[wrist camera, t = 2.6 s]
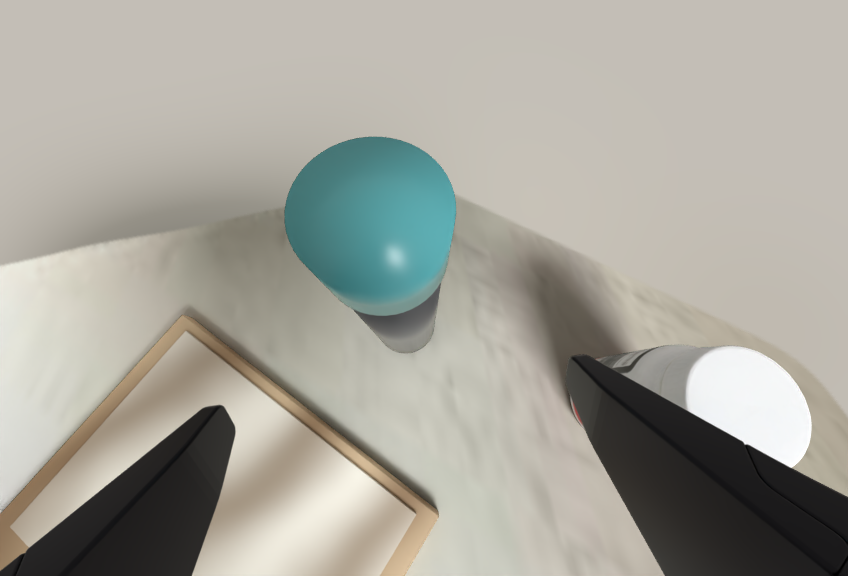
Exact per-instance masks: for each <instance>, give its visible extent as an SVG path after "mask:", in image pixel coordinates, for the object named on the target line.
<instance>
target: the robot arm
mask: <svg viewBox="0 0 848 576" xmlns="http://www.w3.org/2000/svg"><path fill="white" fill-rule="evenodd" d="M565 381H566V386H567V389H568V392H569V394H570V396H571V399H572V401H573V403H574V405H575V408H576V410H577V412H578V415H579V417H580V419H581V422H582V424H583V426H584V429H585V431H586V433H587V436H588V438H589V440H590V442H591V444H592V446H593V448H594V450H595V452H596V453H597V455H598V457H599V459H600V460H601V462H602V464H603V466H604V468H605V469H606V471H607V473H608V475H609V477H610V478H611V480H612V482H613V484H614V485H615V487H616V489H617V491H618V493H619V494H620V496H621V498H622V500H623V502H624V503H625V505H626V507H627V509H628V511H629V512H630V514H631V516H632V518H633V519H634V521H635V523H636V525H637V527H638V528H639V530H640V532H641V534H642V536H643V537H644V539H645V541H646V543H647V545H648V546H649V548H650V550H651V552H652V553H653V555H654V557H655V559H656V561H657V562H658V564H659V566H660V568H661V570H662V571H663V573H664V575H665V576H848V497H847V496H845V495H843V494H841V493H839V492H837V491H835V490H833V489H831V488H829V487H827V486H825V485H823V484H821V483H819V482H817V481H815V480H813V479H811V478H809V477H807V476H805V475H804V474H802V473H800V472H798V471H796V470H794V469H792V468H791V467H789V466H787V465H785V464H783V463H781V462H779V461H778V460H776V459H774V458H772V457H770V456H768V455H767V454H765V453H763V452H761V451H759V450H758V449H756V448H754V447H752V446H750V445H749V444H744V442H743V441H741V440H739V439H738V438H736V437H734V436H732V435H730V434H729V433H727V432H725V431H723V430H721V429H720V428H718V427H716V426H714V425H712V424H711V423H709V422H707V421H705V420H703V419H702V418H700V417H698V416H696V415H694V414H693V413H691V412H689V411H687V410H685V409H684V408H682V407H680V406H678V405H676V404H675V403H673V402H671V401H669V400H667V399H666V398H664V397H662V396H660V395H658V394H657V393H655V392H653V391H651V390H649V389H648V388H646V387H644V386H642V385H640V384H639V383H637V382H635V381H633V380H631V379H630V378H628V377H626V376H624V375H622V374H621V373H619V372H617V371H615V370H613V369H612V368H610V367H608V366H606V365H604V364H603V363H601V362H599V361H597V360H595V359H594V358H592V357H590V356H588V355H585V354H582V355H575V356H571V357H570V358H569V360H568V365H567V372H566V379H565ZM235 434H236V429H235V425H234V423H233V421H232V419H231V418H230V416H229V414H228V412H227V410H226V409H225V407H224V406H222V405H213V406H207V407H204V408H202V409H201V410H199V411H198V412H197V413H196V414H195V415H193V416H192V417H191V418H190V419H188V420H187V421H186V422H185V423H183V424H182V425H181V426H180V427H178V428H177V429H176V430H175V431H173V432H172V433H171V434H170V435H168V436H167V437H166V438H165V439H163V440H162V441H161V442H160V443H158V444H157V445H156V446H155V447H154V448H152V449H151V450H150V451H149V452H147V453H146V454H145V455H144V456H142V457H141V458H140V459H139V460H137V461H136V462H135V463H134V464H132V465H131V466H130V467H129V468H127V469H126V470H125V471H124V472H122V473H121V474H120V475H119V476H117V477H116V478H115V479H114V480H113V481H111V482H110V483H109V484H108V485H106V486H105V487H104V488H103V489H101V490H100V491H99V492H98V493H96V494H95V495H94V496H93V497H91V498H90V499H89V500H88V501H86V502H85V503H84V504H83V505H81V506H80V507H79V508H78V509H76V510H75V511H74V512H73V513H72V514H70V515H69V516H68V517H67V518H65V519H64V520H63V521H62V522H60V523H59V524H58V525H57V526H55V527H54V528H53V529H52V530H50V531H49V532H48V533H47V534H45V535H44V536H43V537H42V538H40V539H39V540H38V541H37V542H35V543H34V544H33V545H32V546H30V547H29V548H28V549H27V550H26V552H25V553H23V554H20V555H19V556H18V557H17V558H15V559H14V560H13V561H12V562H11V563H9V564H8V565H7V566H6V567H4V568H3V569H2V570H1V571H0V576H192V574H193V571H194V568H195V566H196V563H197V560H198V557H199V554H200V552H201V549H202V546H203V543H204V540H205V537H206V535H207V532H208V529H209V526H210V523H211V521H212V518H213V515H214V512H215V509H216V506H217V503H218V500H219V497H220V494H221V490H222V487H223V483H224V479H225V475H226V471H227V467H228V463H229V459H230V455H231V451H232V447H233V443H234V439H235Z"/></svg>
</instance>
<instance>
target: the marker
mask: <svg viewBox="0 0 848 576" xmlns="http://www.w3.org/2000/svg"><path fill="white" fill-rule="evenodd" d="M455 216H456V201H455V195H454V191H453V188H452V185H451V183H450V181H449V179H448V177H447V175H446V173H445V172H444V170H443V169H442V167H441V166H440V165H439V164H438V163H437V162H436V161H435V160H434V159H433V158H432V157H431V156H430V155H428V154H427V153H426V152H424V151H423V150H421V149H420V148H418V147H416V146H414V145H412V144H409V143H407V142H403V141H401V140H397V139H392V138H386V137H363V138H356V139H352V140H348V141H345V142H342V143H339V144H337V145H334V146H332V147H330V148H328V149H326V150H325V151H323V152H321V153H320V154H319V155H317V156H316V157H315V158H313V159H312V160H311V161H310V162H309V163H308V164H307V165H306V166H305V167H304V168H303V169H302V171H301V172H300V173H299V174H298V176H297V177H296V179H295V181H294V182H293V184H292V187H291V189H290V191H289V194H288V197H287V200H286V206H285V227H286V233H287V236H288V239H289V242H290V244H291V246H292V248H293V250H294V252H295V253H296V255H297V256H298V258H299V259H300V260H301V261H302V262H303V263H304V264H305V265H306V267H307V268H308V269H309V270H310V271H311V272H312V273H313V274H314V275H315V276H316V277H317V278H318V279H319V280H320V281H321V282H322V283H323V284H324V285H325V286H326V287H327V288H328V289H329V290H330V291H331V292H332V293H333V294H334V295H335V296H336V297H337V298H338V299H339V300H340V301H341V302H343V303H344V304H345V305H347V306H348V307H350V308H352V309H353V310H354V311H355V312H356V313H357V314H358V316H359V317H360V318H361V319H362V320H363V321H364V322H365V323H366V324H367V325H368V326H369V327H370V329H371V330H372V331H373V332H374V333H375V334H376V335H377V336H378V337H379V338H380V339H381V340H382V342H383V343H384V344H385V345H386V346H387V347H389V348H390V349H392V350H393V351H396V352H399V353H412V352H415V351H418V350H420V349H421V348H423V347H424V346H425V345H426V344H427V343H428V342H429V340H430V339H431V337H432V334H433V331H434V325H435V318H436V311H437V305H438V298H439V291H440V285H441V281H442V279H443V276H444V274H445V271H446V267H447V263H448V257H449V252H450V246H451V241H452V235H453V229H454V224H455Z"/></svg>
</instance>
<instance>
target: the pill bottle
mask: <svg viewBox="0 0 848 576" xmlns="http://www.w3.org/2000/svg"><path fill="white" fill-rule="evenodd" d="M595 360H597V361H599V362H601V363H603V364H604V365H606V366H608V367H610V368H612V369H613V370H615V371H617V372H619V373H621V374H622V375H624V376H626V377H628V378H630V379H631V380H633V381H635V382H637V383H639V384H640V385H642V386H644V387H646V388H648V389H649V390H651V391H653V392H655V393H657V394H658V395H660V396H662V397H664V398H666V399H667V400H669V401H671V402H673V403H675V404H676V405H678V406H680V407H682V408H684V409H685V410H687V411H689V412H691V413H693V414H694V415H696V416H698V417H700V418H702V419H703V420H705V421H707V422H709V423H711V424H712V425H714V426H716V427H718V428H720V429H721V430H723V431H725V432H727V433H729V434H730V435H732V436H734V437H736V438H738V439H739V440H741V441H743V442H744V444H749V445H750V446H752V447H754V448H756V449H758V450H759V451H761V452H763V453H765V454H767V455H768V456H770V457H772V458H774V459H776V460H778V461H779V462H781V463H783V464H785V465H787V466H789V467H793V466H794V465H795V464H797V463H798V462H799V461H800V459H801V458H802V457H803V455H804V454H805V452H806V450H807V448H808V445H809V442H810V438H811V416H810V412H809V409H808V406H807V403H806V400H805V398H804V396H803V394H802V392H801V390H800V389H799V387H798V385H797V384H796V383H795V381H794V380H793V379H792V377H791V376H790V375H789V374H788V373H787V372H786V371H785V370H784V369H783V368H782V367H781V366H780V365H779V364H777V363H776V362H775V361H773V360H772V359H770V358H769V357H767V356H765V355H764V354H761V353H760V352H757V351H755V350H752V349H749V348H745V347H740V346H716V347H701V348H698V347H694V346H689V345H667V346H661V347H656V348H651V349H646V350H640V351H635V352H629V353H624V354H618V355H613V356H608V357H602V358H597V359H595ZM570 399H571V396H570ZM571 405H572V409H573V412H574V415H575V417H576V419H577V420H578V422H579V423H580V425H581V426H582V427H583V428H584V426H583V424H582V422H581V419H580V417H579V415H578V412H577V410H576V408H575V405H574V403H573V401H572V399H571Z"/></svg>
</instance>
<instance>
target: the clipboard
mask: <svg viewBox="0 0 848 576" xmlns="http://www.w3.org/2000/svg"><path fill="white" fill-rule="evenodd" d="M213 405H222V406H224V407H225V409H226V410H227V412H228V414H229V416H230V418H231V419H232V421H233V423H234V425H235V429H236V434H235V439H234V443H233V447H232V451H231V455H230V459H229V463H228V467H227V471H226V475H225V479H224V483H223V487H222V490H221V494H220V497H219V500H218V503H217V506H216V509H215V512H214V515H213V518H212V521H211V523H210V526H209V529H208V532H207V535H206V537H205V540H204V543H203V546H202V549H201V552H200V554H199V557H198V560H197V563H196V566H195V568H194V571H193V574H192V576H405V574H406V573H407V571H408V569H409V567H410V566H411V564H412V562H413V560H414V559H415V557H416V555H417V554H418V552H419V550H420V548H421V547H422V545H423V543H424V542H425V540H426V538H427V536H428V535H429V533H430V531H431V529H432V528H433V526H434V524H435V523H436V521H437V519H438V517H439V513H438V510H436V509H435V508H434V507H433V506H431V505H430V504H429V503H428V502H426V501H425V500H424V499H422V498H421V497H420V496H419V495H417V494H416V493H415V492H414V491H412V490H411V489H410V488H408V487H407V486H406V485H405V484H403V483H402V482H401V481H399V480H398V479H397V478H396V477H394V476H393V475H392V474H391V473H389V472H388V471H387V470H385V469H384V468H383V467H382V466H380V465H379V464H378V463H376V462H375V461H374V460H373V459H371V458H370V457H369V456H368V455H366V454H365V453H364V452H362V451H361V450H360V449H359V448H357V447H356V446H355V445H354V444H352V443H351V442H350V441H348V440H347V439H346V438H345V437H343V436H342V435H341V434H339V433H338V432H337V431H336V430H334V429H333V428H332V427H331V426H329V425H328V424H327V423H325V422H324V421H323V420H322V419H320V418H319V417H318V416H316V415H315V414H314V413H313V412H311V411H310V410H309V409H308V408H306V407H305V406H304V405H302V404H301V403H300V402H299V401H297V400H296V399H295V398H294V397H292V396H291V395H290V394H288V393H287V392H286V391H285V390H283V389H282V388H281V387H279V386H278V385H277V384H276V383H274V382H273V381H272V380H271V379H269V378H268V377H267V376H265V375H264V374H263V373H262V372H260V371H259V370H258V369H256V368H255V367H254V366H253V365H251V364H250V363H249V362H248V361H246V360H245V359H244V358H242V357H241V356H240V355H239V354H237V353H236V352H235V351H234V350H232V349H231V348H230V347H228V346H227V345H226V344H225V343H223V342H222V341H221V340H219V339H218V338H217V337H216V336H214V335H213V334H212V333H211V332H209V331H208V330H207V329H205V328H204V327H203V326H202V325H200V324H199V323H198V322H196V321H195V320H194V319H193V318H191V317H188V316H184V315H182V316H181V317H180V318H179V319H178V320H177V321H176V322H175V323H174V324H173V325H172V327H171V328H170V329H169V330H168V331H167V332H166V333H165V334H164V335H163V336H162V338H161V339H160V340H159V341H158V342H157V343H156V344H155V345H154V346H153V347H152V348H151V350H150V351H149V352H148V353H147V354H146V355H145V356H144V357H143V358H142V359H141V361H140V362H139V363H138V364H137V365H136V366H135V367H134V368H133V369H132V370H131V371H130V373H129V374H128V375H127V376H126V377H125V378H124V379H123V380H122V381H121V382H120V384H119V385H118V386H117V387H116V388H115V389H114V390H113V391H112V392H111V393H110V394H109V396H108V397H107V398H106V399H105V400H104V401H103V402H102V403H101V404H100V405H99V407H98V408H97V409H96V410H95V411H94V412H93V413H92V414H91V415H90V416H89V417H88V419H87V420H86V421H85V422H84V423H83V424H82V425H81V426H80V427H79V428H78V430H77V431H76V432H75V433H74V434H73V435H72V436H71V437H70V438H69V439H68V440H67V442H66V443H65V444H64V445H63V446H62V447H61V448H60V449H59V450H58V451H57V453H56V454H55V455H54V456H53V457H52V458H51V459H50V460H49V461H48V462H47V463H46V465H45V466H44V467H43V468H42V469H41V470H40V471H39V472H38V473H37V474H36V476H35V477H34V478H33V479H32V480H31V481H30V482H29V483H28V484H27V485H26V486H25V488H24V489H23V490H22V491H21V492H20V493H19V494H18V495H17V496H16V497H15V499H14V500H13V501H12V502H11V503H10V504H9V505H8V506H7V507H6V508H5V510H4V511H3V512H2V513H1V514H0V571H1V570H2V569H3V568H4V567H6V566H7V565H8V564H9V563H11V562H12V561H13V560H14V559H15V558H17V557H18V556H19V555H20V554H23V553H25V552H26V550H27V549H28V548H29V547H30V546H32V545H33V544H34V543H35V542H37V541H38V540H39V539H40V538H42V537H43V536H44V535H45V534H47V533H48V532H49V531H50V530H52V529H53V528H54V527H55V526H57V525H58V524H59V523H60V522H62V521H63V520H64V519H65V518H67V517H68V516H69V515H70V514H72V513H73V512H74V511H75V510H76V509H78V508H79V507H80V506H81V505H83V504H84V503H85V502H86V501H88V500H89V499H90V498H91V497H93V496H94V495H95V494H96V493H98V492H99V491H100V490H101V489H103V488H104V487H105V486H106V485H108V484H109V483H110V482H111V481H113V480H114V479H115V478H116V477H117V476H119V475H120V474H121V473H122V472H124V471H125V470H126V469H127V468H129V467H130V466H131V465H132V464H134V463H135V462H136V461H137V460H139V459H140V458H141V457H142V456H144V455H145V454H146V453H147V452H149V451H150V450H151V449H152V448H154V447H155V446H156V445H157V444H158V443H160V442H161V441H162V440H163V439H165V438H166V437H167V436H168V435H170V434H171V433H172V432H173V431H175V430H176V429H177V428H178V427H180V426H181V425H182V424H183V423H185V422H186V421H187V420H188V419H190V418H191V417H192V416H193V415H195V414H196V413H197V412H198V411H199V410H201V409H202V408H204V407H207V406H213Z"/></svg>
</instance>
